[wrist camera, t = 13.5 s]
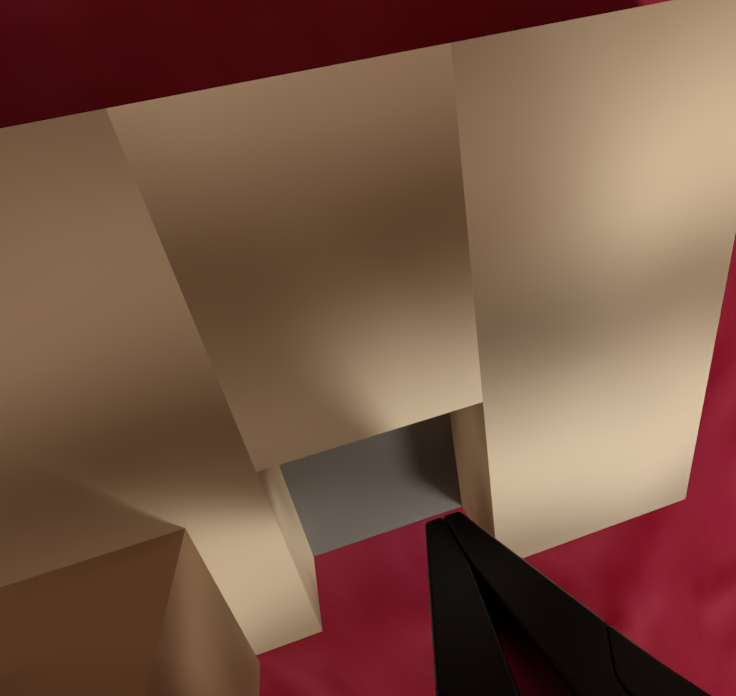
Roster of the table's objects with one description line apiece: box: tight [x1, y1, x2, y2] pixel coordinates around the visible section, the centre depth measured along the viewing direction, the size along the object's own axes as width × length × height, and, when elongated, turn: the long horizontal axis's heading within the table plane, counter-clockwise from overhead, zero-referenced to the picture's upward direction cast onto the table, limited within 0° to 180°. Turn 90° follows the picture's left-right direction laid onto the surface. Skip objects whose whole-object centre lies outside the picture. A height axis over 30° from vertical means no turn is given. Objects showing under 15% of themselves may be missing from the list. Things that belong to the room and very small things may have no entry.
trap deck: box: [0, 0, 736, 655], centre depth 8 cm, size 12×25×6 cm, turn 101°
